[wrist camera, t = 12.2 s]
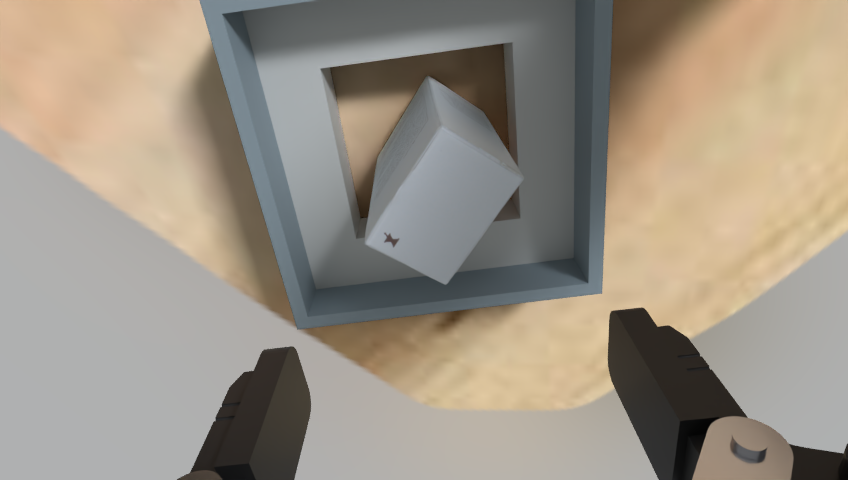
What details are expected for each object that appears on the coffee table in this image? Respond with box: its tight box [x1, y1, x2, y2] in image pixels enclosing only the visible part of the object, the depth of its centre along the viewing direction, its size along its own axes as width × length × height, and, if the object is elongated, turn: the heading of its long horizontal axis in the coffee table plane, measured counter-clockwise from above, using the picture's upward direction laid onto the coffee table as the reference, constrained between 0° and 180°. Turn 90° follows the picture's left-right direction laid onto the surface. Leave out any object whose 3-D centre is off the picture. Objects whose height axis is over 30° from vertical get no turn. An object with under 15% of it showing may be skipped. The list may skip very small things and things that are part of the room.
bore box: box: [200, 0, 613, 329], centre depth 29 cm, size 18×18×6 cm
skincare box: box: [364, 76, 524, 285], centre depth 26 cm, size 6×4×12 cm
